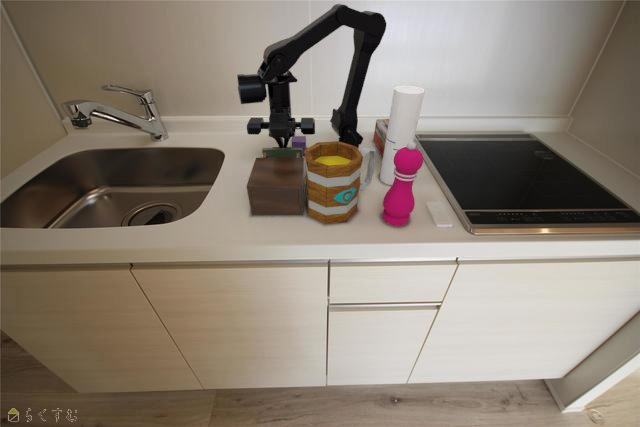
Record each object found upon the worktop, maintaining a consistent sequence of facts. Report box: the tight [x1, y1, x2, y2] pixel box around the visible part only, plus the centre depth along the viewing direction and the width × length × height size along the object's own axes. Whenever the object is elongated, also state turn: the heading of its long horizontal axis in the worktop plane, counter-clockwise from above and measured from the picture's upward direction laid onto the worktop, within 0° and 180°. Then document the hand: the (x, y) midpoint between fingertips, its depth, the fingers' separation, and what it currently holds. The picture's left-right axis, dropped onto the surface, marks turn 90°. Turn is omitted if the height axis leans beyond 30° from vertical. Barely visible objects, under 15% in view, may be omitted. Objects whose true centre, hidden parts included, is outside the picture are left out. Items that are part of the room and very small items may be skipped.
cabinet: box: [246, 157, 305, 216], centre depth 73 cm, size 14×13×9 cm
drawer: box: [261, 146, 304, 158], centre depth 81 cm, size 17×11×7 cm, turn 1°
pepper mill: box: [382, 141, 424, 227], centre depth 64 cm, size 7×7×20 cm
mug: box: [304, 140, 377, 225], centre depth 70 cm, size 20×14×15 cm
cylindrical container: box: [379, 84, 426, 186], centre depth 76 cm, size 7×7×25 cm
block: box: [291, 135, 307, 156], centre depth 96 cm, size 5×5×5 cm
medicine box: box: [373, 118, 389, 157], centre depth 96 cm, size 15×8×8 cm, turn 6°
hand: (284, 153), depth 86 cm, fingers closed
